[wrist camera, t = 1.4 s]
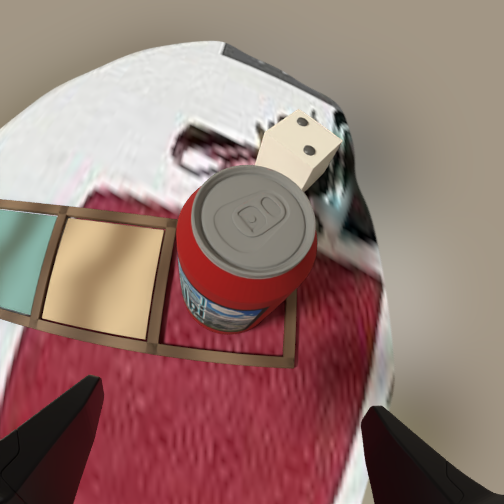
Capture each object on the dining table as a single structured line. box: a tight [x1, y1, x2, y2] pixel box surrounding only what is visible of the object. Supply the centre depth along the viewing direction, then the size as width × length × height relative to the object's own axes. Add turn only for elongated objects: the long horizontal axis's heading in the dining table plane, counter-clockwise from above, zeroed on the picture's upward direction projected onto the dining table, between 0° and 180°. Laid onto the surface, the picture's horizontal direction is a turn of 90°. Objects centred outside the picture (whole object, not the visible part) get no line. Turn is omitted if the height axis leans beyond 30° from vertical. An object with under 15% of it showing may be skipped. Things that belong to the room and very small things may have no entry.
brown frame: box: [0, 199, 297, 368], centre depth 23 cm, size 31×11×1 cm, turn 86°
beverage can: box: [176, 165, 317, 334], centre depth 19 cm, size 7×7×12 cm
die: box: [255, 109, 342, 192], centre depth 28 cm, size 5×5×5 cm
